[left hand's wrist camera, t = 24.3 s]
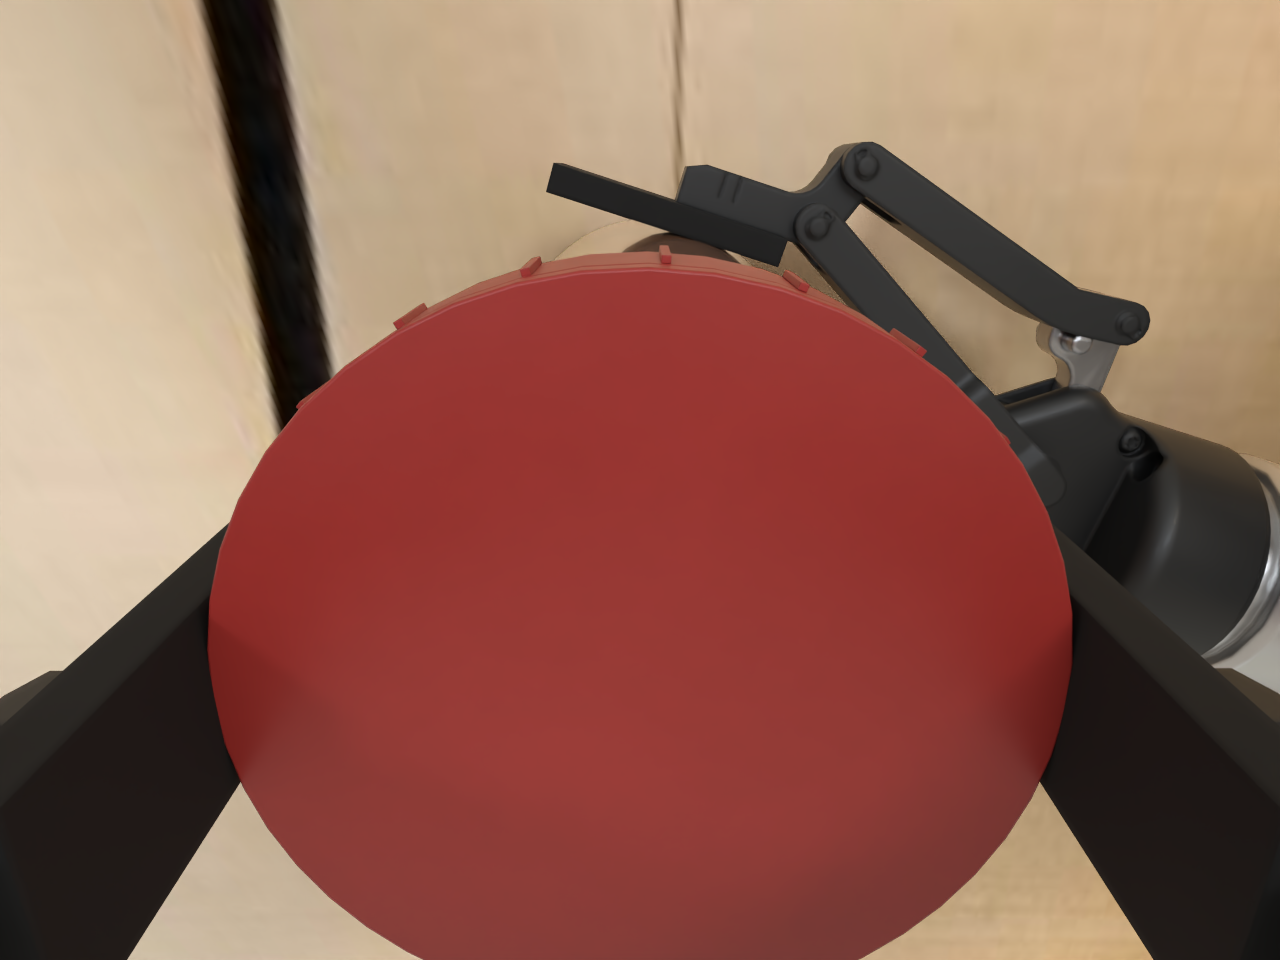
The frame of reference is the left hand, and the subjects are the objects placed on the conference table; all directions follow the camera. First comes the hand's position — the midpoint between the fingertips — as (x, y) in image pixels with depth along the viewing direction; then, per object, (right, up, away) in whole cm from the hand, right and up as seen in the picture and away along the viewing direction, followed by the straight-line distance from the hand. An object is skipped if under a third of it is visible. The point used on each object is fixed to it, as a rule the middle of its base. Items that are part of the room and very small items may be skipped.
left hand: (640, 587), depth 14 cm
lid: (0, -1, -3) cm, 3 cm away
